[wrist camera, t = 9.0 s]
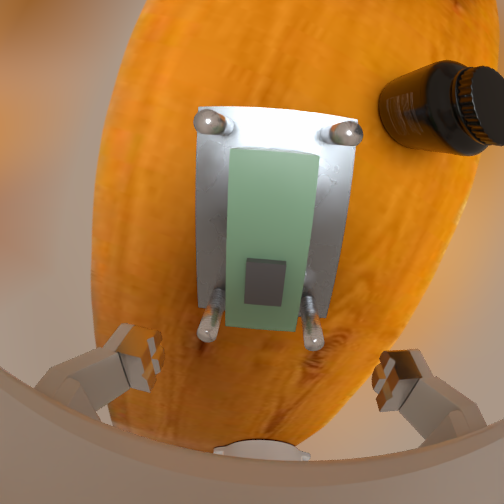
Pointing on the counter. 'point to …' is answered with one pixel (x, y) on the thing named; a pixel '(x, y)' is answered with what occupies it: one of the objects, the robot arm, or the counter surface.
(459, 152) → the supplement bottle
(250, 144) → the chassis
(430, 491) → the robot arm
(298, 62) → the counter surface
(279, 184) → the green rectangular block
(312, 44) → the counter surface
